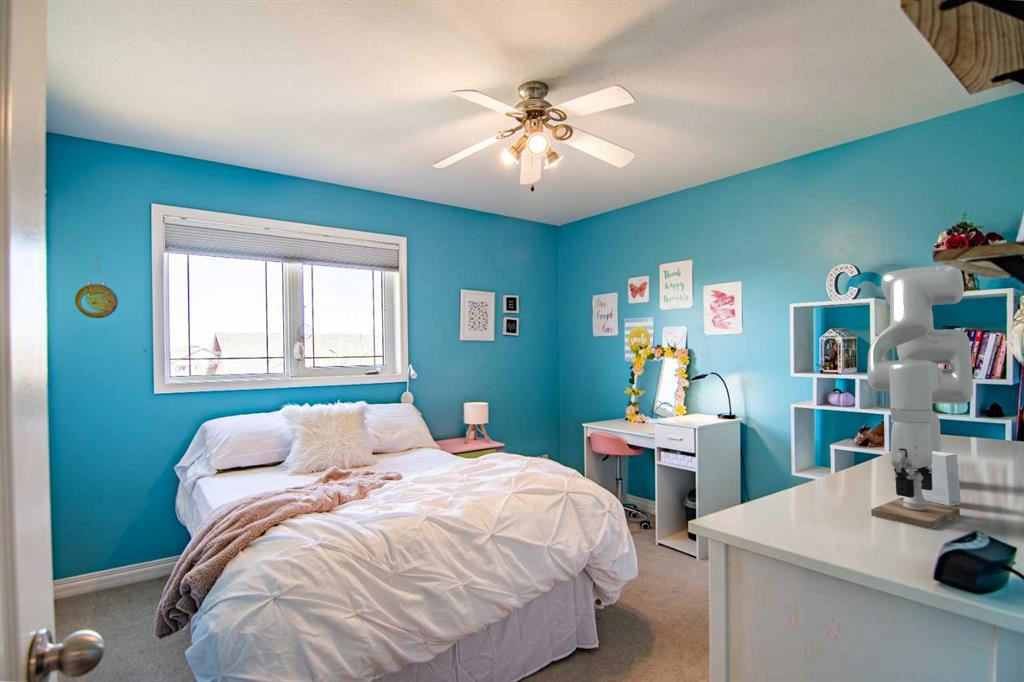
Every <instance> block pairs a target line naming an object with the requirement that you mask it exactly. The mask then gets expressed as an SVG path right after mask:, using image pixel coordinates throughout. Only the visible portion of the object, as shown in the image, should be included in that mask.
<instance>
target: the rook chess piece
mask: <svg viewBox="0 0 1024 682" xmlns="http://www.w3.org/2000/svg"><path fill="white" fill-rule="evenodd" d="M911 479H914V497H913V498H910V497H904V498H905V499H904V500H903V501H904V502H905V504H903V506H904V507H905V508H907V509H910V510H915V511H926V510H927V509H928V507H926V505H927V502H928V501H925V500H924V499H925V498H924V497H923V489H921V486H922V484H921V480H922V479H923V477H922V476H921V474H920V473H918V474H916V472H914V474H912V478H911Z"/></svg>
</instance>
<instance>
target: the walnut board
mask: <svg viewBox="0 0 1024 682" xmlns="http://www.w3.org/2000/svg"><path fill="white" fill-rule="evenodd" d="M905 498H906V497H904V496H901V497H899V498H897V499H894V500H892V501H888V502H886V503H884V504H882V505H879V506H876V507H873V508H871V513H870V514H871V515H870V516H871V517H874V516H876V517H875V518H879V517H880V518H879V519H883V518H884V520H888V519H889V521H892V520H893V521H892V522H896V521H898V522H897V523H901V522H903V523H902V524H905V523H907V524H906V525H910V524H911V525H910V526H914V525H915V526H914V527H919V528H923V527H925V528H924V529H927V528H930V529H929V530H932V529H931V528H933V527H935V526H937V525H939V524H941V523H943V522H945V521H947V520H949V519H951V518H953V517H955V516H957V517H958V515H959V516H960V515H961V511H960V508H959V507H957V506H956V507H955V506H947V505H942V504H938V503H934V502H929V501H926V502H927V505H926V507H928V509H927V510H926V511H915V510H910V509H907V508H905V507H904V506H903V504H905V502H904V501H903V500H904V499H905ZM955 518H956V517H955ZM953 519H954V518H953ZM951 520H952V519H951ZM949 521H950V520H949ZM947 522H948V521H947ZM945 523H946V522H945ZM943 524H944V523H943ZM941 525H942V524H941ZM939 526H940V525H939ZM937 527H938V526H937ZM935 528H936V527H935ZM933 529H934V528H933Z"/></svg>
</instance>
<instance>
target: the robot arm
mask: <svg viewBox="0 0 1024 682" xmlns="http://www.w3.org/2000/svg"><path fill="white" fill-rule="evenodd" d="M948 265H949V264H946V265H945V264H944V265H943V264H942V265H936V266H933V265H932V266H925V267H922V266H921V267H913V268H911V267H910V268H903V269H898V270H892V271H889V272H886V273H884V274H883V276H882V277H881V279H880V283H881V290H882V292H883V293H882V294H883V295H884V297H885V299H886V301H887V303H888V305H889V308H890V309H889V313H890V314H889V326H888V327H886V328H884V330H883V331H881V332H880V333H879V334H878V335H877V336H876V337H875V339H873V341H872V343H871V345H870V347H869V349H868V353H867V372H866V373H867V374H866V375H867V381H868V384H869V386H870V387H871V389H873V390H874V391H879V392H889V397H890V399H889V401H890V403H889V405H890V422H891V423H892V426H891V433H890V464H891V466H892V467H893V471H894V473H893V474H892V478H893V479H894V480H895V494H896V495H897V496H901V497H903V498H906V497H910V498H913V497H914V479H911V478H912V474H914V472H916V474H918V473H920V474H921V476H922V477H923V479H922V480H921V484H922V486H921V489H922V491H923V490H929V491H930V490H932V473H929V472H932V467H931V464H932V451H936V452H942V441H941V440H942V439H941V421H940V418H939V415H937V413H936V412H935V411H933V404H942V405H943V404H946V405H947V404H950V405H953V404H954V405H955V404H956V405H958V404H959V405H960V404H961V405H963V404H967V403H969V402H970V401H971V400H972V398H973V393H974V385H973V383H974V379H973V365H972V350H971V349H972V348H971V341H970V339H969V336H968V335H967V333H966V332H964V331H962V330H960V329H954V328H953V329H951V328H950V329H947V328H946V329H935V328H934V327H935V326H934V314H933V309H932V308H933V307H932V306H937V305H939V306H940V305H954V304H957V303H960V301H962V298H963V296H964V291H965V287H964V286H965V284H964V277H963V274H962V270H961V269H960V268H959V269H957V268H955V267H952V266H948ZM895 347H896V354H897V357H898V359H899V360H882V358H883V356H884V355H885V354H886V353H887V352H889V351H890V350H892V349H894V348H895ZM939 365H947V366H949V367H950V368H942V367H939Z"/></svg>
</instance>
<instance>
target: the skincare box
mask: <svg viewBox="0 0 1024 682" xmlns="http://www.w3.org/2000/svg"><path fill="white" fill-rule="evenodd" d="M931 467H932V472H929V473H932V490H930V491H929V490H923V489H922V494H923V497H924V498H925V499H924V500H925V501H926V502H929V501H930V502H929V503H935V504H940V505H942V504H943V505H945V506H950V507H955V505H957V506H960V505H961V493H960V492H961V491H960V489H961V488H960V477H959V465H958V455H957V454H956V453H949V452H942V451H941V452H936V451H932V464H931Z"/></svg>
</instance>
